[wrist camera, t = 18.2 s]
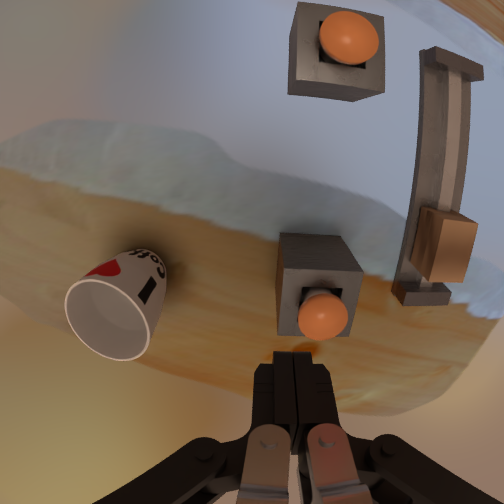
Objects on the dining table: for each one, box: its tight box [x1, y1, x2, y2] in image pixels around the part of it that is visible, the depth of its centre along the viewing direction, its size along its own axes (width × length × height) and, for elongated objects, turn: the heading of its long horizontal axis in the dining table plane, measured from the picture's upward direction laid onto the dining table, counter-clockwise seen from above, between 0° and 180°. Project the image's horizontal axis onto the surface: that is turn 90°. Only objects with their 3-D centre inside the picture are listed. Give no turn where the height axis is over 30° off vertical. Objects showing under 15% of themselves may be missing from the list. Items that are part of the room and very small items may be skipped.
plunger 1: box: [298, 287, 348, 340], centre depth 23 cm, size 4×4×4 cm
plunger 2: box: [319, 11, 379, 65], centre depth 16 cm, size 4×4×4 cm
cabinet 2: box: [275, 233, 364, 337], centre depth 26 cm, size 6×6×8 cm
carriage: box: [410, 206, 478, 283], centre depth 25 cm, size 6×4×4 cm
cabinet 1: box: [288, 2, 385, 102], centre depth 19 cm, size 6×6×8 cm
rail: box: [391, 46, 484, 306], centre depth 24 cm, size 26×6×3 cm, turn 178°
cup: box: [65, 249, 166, 361], centre depth 27 cm, size 8×8×10 cm
